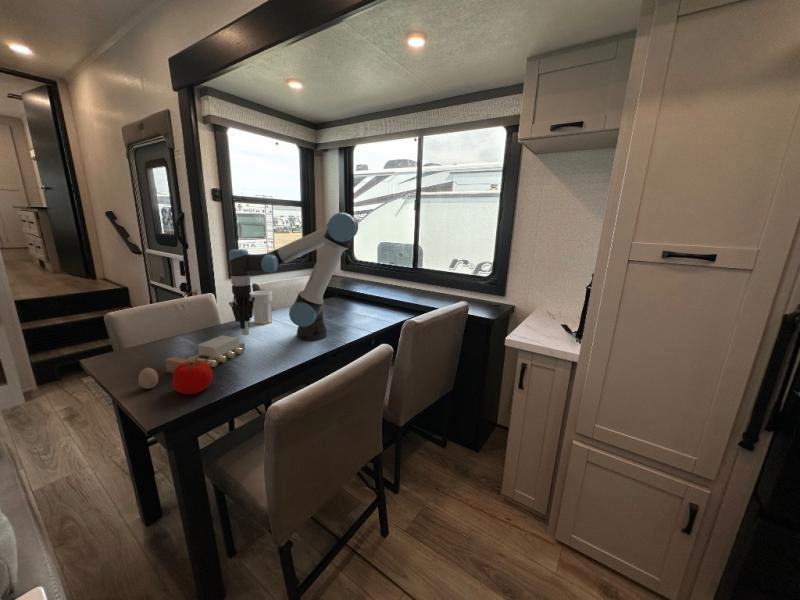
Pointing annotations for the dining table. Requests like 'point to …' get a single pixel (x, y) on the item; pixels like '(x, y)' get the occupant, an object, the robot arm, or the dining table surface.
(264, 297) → the cup
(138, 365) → the dining table surface
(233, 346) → the paver
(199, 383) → the tomato
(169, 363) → the rack with metal cylinders
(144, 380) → the egg
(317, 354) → the dining table surface
